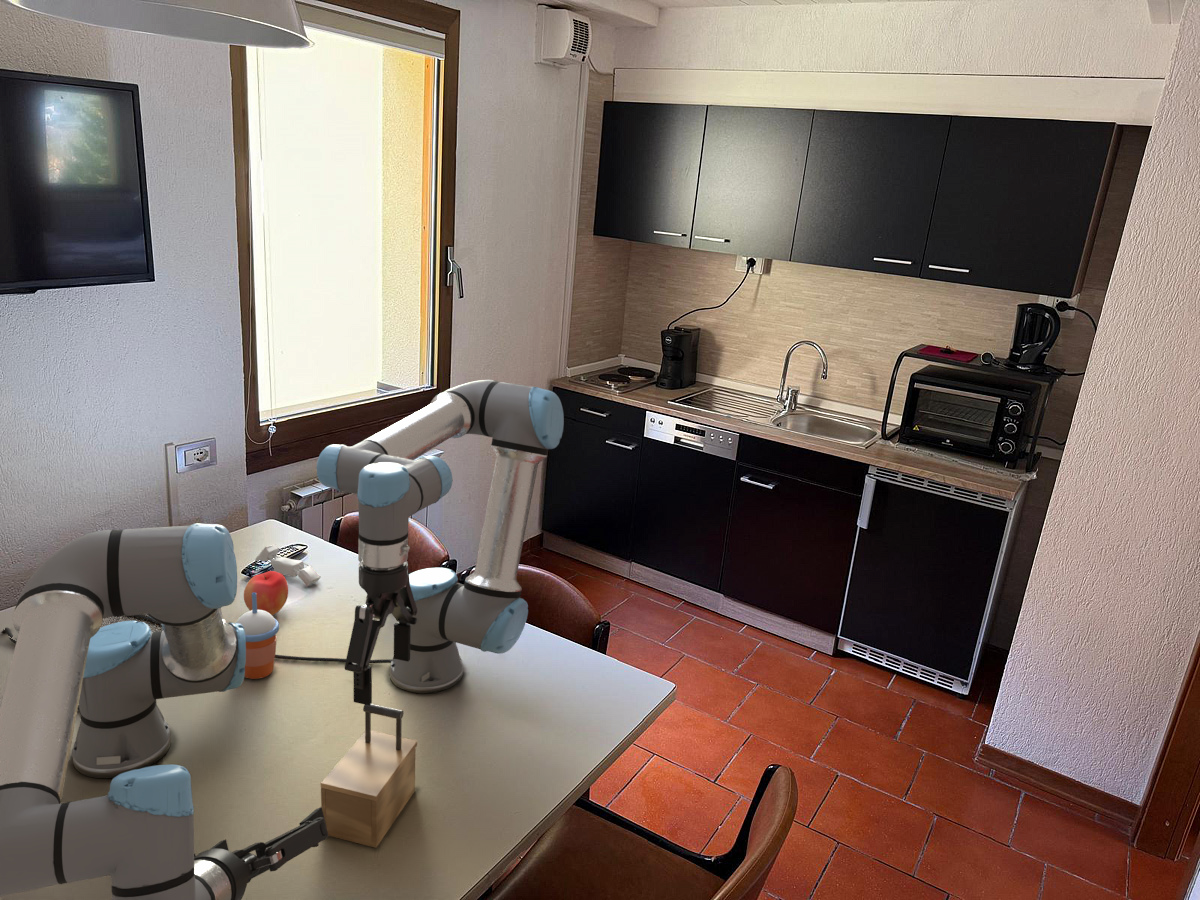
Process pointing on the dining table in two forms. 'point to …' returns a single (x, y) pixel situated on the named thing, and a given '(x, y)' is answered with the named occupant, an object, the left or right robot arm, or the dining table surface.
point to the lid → (371, 758)
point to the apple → (267, 592)
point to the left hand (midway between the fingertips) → (273, 833)
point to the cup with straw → (259, 641)
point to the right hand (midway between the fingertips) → (383, 680)
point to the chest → (368, 809)
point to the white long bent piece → (288, 565)
